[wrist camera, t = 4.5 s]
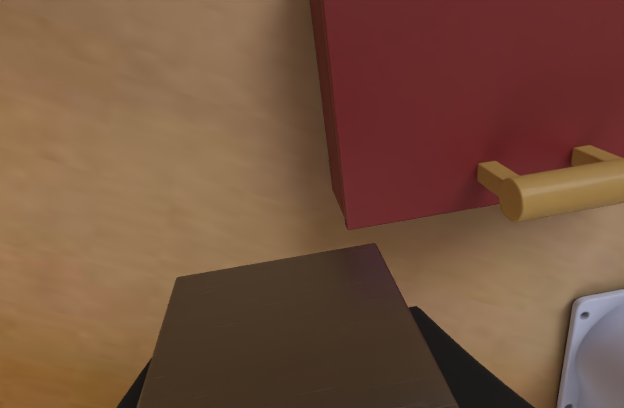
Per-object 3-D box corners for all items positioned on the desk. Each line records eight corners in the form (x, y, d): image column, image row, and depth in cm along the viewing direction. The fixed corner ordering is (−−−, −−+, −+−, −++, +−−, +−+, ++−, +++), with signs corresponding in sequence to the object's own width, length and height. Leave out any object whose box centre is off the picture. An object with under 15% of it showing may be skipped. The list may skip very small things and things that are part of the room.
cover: (691, 164, 17) (797, 202, 14) (345, 224, 16) (367, 279, 13) (768, -125, 13) (944, -172, 10) (313, -63, 12) (334, -91, 9)
